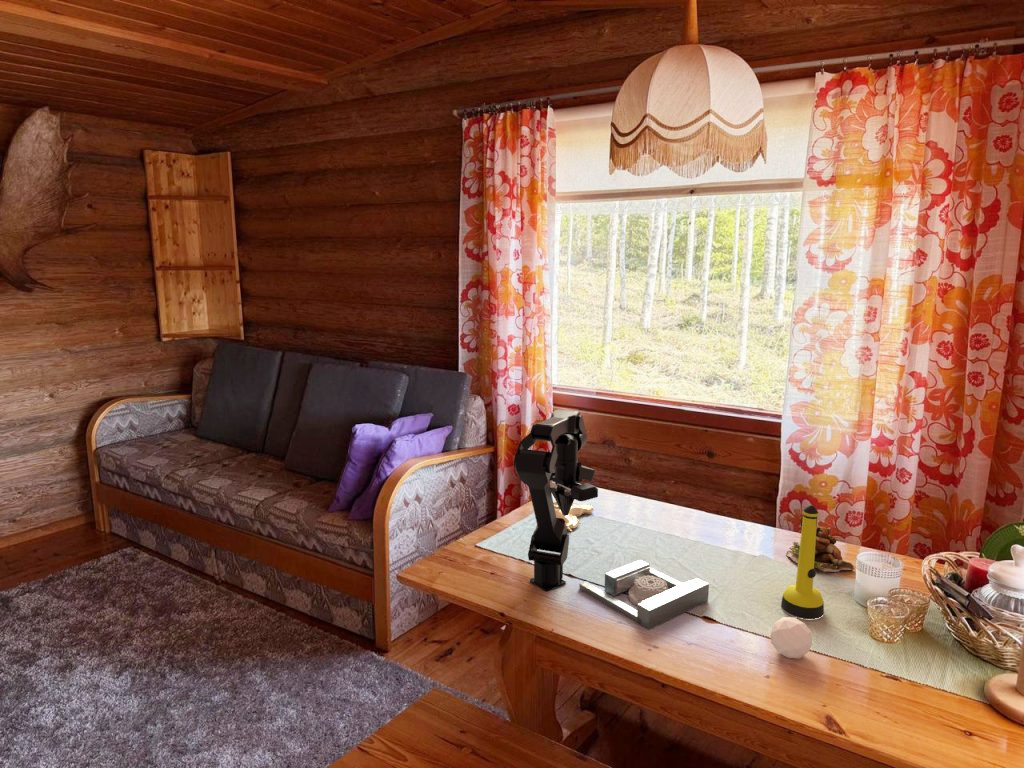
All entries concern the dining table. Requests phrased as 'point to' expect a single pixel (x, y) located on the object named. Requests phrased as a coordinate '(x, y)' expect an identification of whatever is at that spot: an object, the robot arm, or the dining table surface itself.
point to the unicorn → (573, 514)
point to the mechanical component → (646, 588)
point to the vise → (656, 600)
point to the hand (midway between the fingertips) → (565, 515)
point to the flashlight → (805, 574)
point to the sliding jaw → (625, 577)
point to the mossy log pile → (823, 552)
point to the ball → (791, 637)
